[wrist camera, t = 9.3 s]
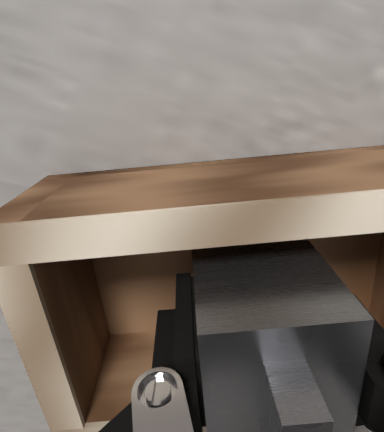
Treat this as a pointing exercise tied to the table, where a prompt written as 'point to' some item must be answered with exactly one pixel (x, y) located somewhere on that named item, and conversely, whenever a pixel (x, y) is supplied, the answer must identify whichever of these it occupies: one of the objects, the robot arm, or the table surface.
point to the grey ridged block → (278, 339)
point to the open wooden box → (164, 258)
